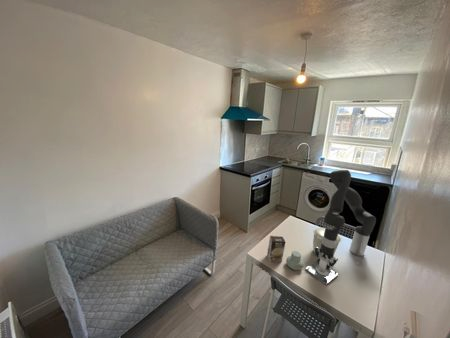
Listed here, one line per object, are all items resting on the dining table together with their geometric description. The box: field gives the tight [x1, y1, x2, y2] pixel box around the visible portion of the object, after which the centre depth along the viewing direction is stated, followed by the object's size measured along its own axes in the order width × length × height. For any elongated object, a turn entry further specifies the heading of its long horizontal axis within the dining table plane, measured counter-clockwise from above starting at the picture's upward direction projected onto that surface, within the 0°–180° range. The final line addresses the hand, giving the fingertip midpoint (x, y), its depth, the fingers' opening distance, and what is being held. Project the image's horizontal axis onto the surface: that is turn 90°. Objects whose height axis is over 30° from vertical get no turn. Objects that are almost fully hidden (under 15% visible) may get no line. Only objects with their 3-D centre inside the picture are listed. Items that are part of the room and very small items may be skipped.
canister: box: [312, 227, 342, 255], centre depth 140 cm, size 18×18×21 cm
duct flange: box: [305, 260, 339, 286], centre depth 124 cm, size 14×14×2 cm
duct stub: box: [318, 256, 330, 272], centre depth 122 cm, size 6×6×9 cm
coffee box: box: [266, 235, 286, 263], centre depth 132 cm, size 9×6×16 cm
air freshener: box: [285, 250, 304, 271], centre depth 127 cm, size 11×8×10 cm
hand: (323, 266), depth 123 cm, fingers closed on duct stub, 5 cm apart
